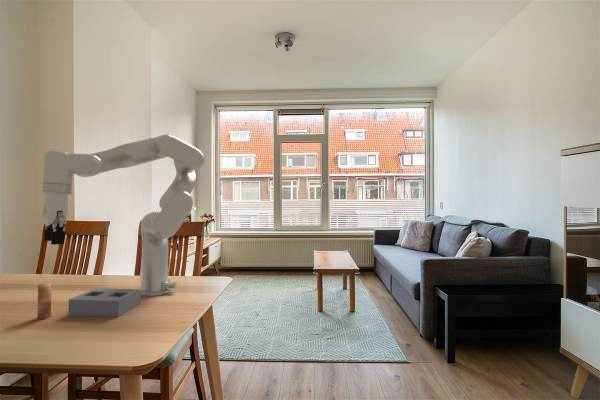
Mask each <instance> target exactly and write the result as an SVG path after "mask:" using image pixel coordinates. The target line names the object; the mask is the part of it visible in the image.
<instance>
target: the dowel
mask: <svg viewBox="0 0 600 400" xmlns="http://www.w3.org/2000/svg"><path fill="white" fill-rule="evenodd" d="M52 286H53V285H52V283H49V282H47V283H40V284H37V313H36V314H37V315H36V317H37V319H38V320H45V319H48V318H51V317H52Z"/></svg>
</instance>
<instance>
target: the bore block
mask: <svg viewBox="0 0 600 400" xmlns="http://www.w3.org/2000/svg"><path fill="white" fill-rule="evenodd" d="M140 304H141V296H140V289H139V288H137V289H135V288H134V289H132V288H131V289H130V288H107V287H106V288H105V287H104V288H103V287H102V288H101V287H94V288H93V289H91V290H87V291H85V292H83V293H80V294H78V295H75V296H74V297H71V298H69V299H68V313H67V315H68V316H77V317H78V316H79V317H80V316H81V317H82V316H83V317H106V318H107V317H108V318H110V317H111V318H119V317H121V316H122V315H124V314H126V313H127V312H129V311H130V310H132V309H134V308H135V307H136V306H137V307H138V306H139V305H140Z"/></svg>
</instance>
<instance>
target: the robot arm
mask: <svg viewBox="0 0 600 400" xmlns="http://www.w3.org/2000/svg"><path fill="white" fill-rule="evenodd" d="M43 157H44V158H43V159H44V160H43V174H42V188H41V189H42V190H41V194H45V195H44V199H43V206H42V215H41V223H42V224H44V225H45V227H44V237H43V238H44V239H43V241H44V242H50V244H51V245H64V244H65V237H66V224H67V221H68V211H69V209H68V208H69V196H72V194H73V179H74V178H73V176H74V175H76V176H78V177H81V178H87V177H88V178H89V177H94V176H96V175H99V174H102V173H106V172H110V171H114V170H118V169H125V168H132V167H135V166H139V165H143V164H146V163H151V162H153V161H157V160H160V159H161V160H162V159H164V158H170V159H172V160H173V164H174V167H175V171H176V173H175V177H174V179H173V181H172V182H171V184H170V185H169V186H168V188H167V189H166V190H165V192H164V193H163V194H162V196H161V197H160V199H159V202H158V203H159V204H158V205H159V207H160V209H161V211H160V212H157V211H153V212H150V213H146V214H145V215H144V216H143V217H142V219H141V222H140V234H141V269H140V271H141V273H140V274H141V275H140V276H141V277H140V278H141V279H140V280H141V282H140V284H141V285H140V287H139V288H138V289H140V297H156V296H163V295H166V294H169V293H170V292H172V290H173V289H174V290H175V289H177V288H178V283H177V282H173V281H171V278H169V238H171V237H173V236H174V235H175V234H176V233H177V232H178V231H179V229H180V228H181V226H182V225H183V223H184V222H185V221H186V219H187V217H188V216H189V215H190V213H191V211H192V210H193V209H192V208H193V206H194V201H193V197H192V195H191V193H192V192H193V190H194V188H195V187H196V185H197V184H196V183H197V174H196V170H199V169H201V168H202V167H203V166H204V165H205V156H204V153H202V151H201V150H200V149H198V148H196V147H195V146H193V145H192V144H189V143H187V142H185V141H183V140H181V139H180V138H179V137H176V136H173V135H172V134H167V133H166V134H162V135H158V136H154V137H150V138H145V139H140V140H138V141H133V142H129V143H125V144H124V143H122V144H121V145H118V146H115V147H113V148H109V149H107V150H103V151H98V152H94V153H72V152H71V153H70V152H66V151H62V150H48V151H45V153H44V156H43Z"/></svg>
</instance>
